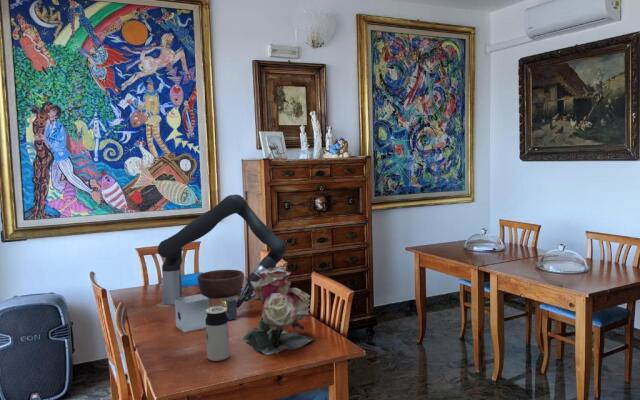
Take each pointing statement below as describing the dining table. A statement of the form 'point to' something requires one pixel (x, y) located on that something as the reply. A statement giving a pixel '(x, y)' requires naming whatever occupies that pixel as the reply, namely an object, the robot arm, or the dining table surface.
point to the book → (189, 279)
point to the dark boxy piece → (229, 307)
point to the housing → (191, 312)
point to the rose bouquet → (278, 313)
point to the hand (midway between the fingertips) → (236, 307)
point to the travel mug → (217, 334)
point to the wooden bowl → (220, 282)
